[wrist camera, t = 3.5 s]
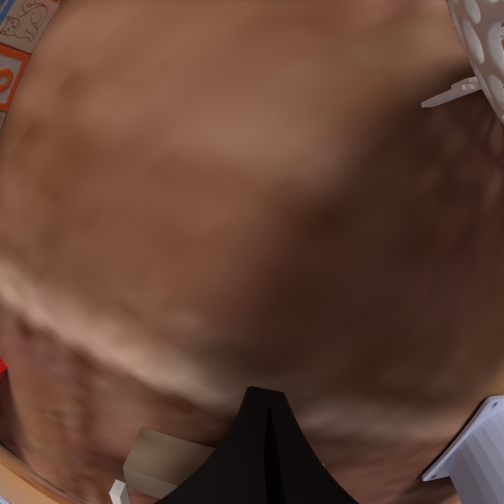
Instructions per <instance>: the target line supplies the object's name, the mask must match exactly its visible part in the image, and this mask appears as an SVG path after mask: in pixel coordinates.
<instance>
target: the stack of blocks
mask: <svg viewBox="0 0 504 504" xmlns="http://www.w3.org/2000/svg"><path fill="white" fill-rule="evenodd" d="M60 2H61V0H0V131H1V128H2V124H3V121H4V118H5V115H6V112H7V111H8V109H9V106H10V103H11V100H12V98H13V95H14V93H15V90H16V88H17V85H18V83H19V80H20V78H21V76H22V73H23V71H24V69H25V67H26V65H27V63H28V60H29V58H30V55H31V54H32V52H33V50H34V48H35V46H36V45H37V43H38V41H39V39H40V37H41V36H42V34H43V32H44V30H45V28H46V27H47V25H48V23H49V22H50V20H51V18H52V17H53V15H54V14H55V12H56V10H57V9H58V7H59V4H60Z"/></svg>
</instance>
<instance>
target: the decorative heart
mask: <svg viewBox="0 0 504 504" xmlns="http://www.w3.org/2000/svg"><path fill="white" fill-rule="evenodd" d="M446 2H447V5H448V9H449V13H450V16H451V18H452V22H453V24H454V27H455V30H456V32H457V35H458V38H459V41H460V43H461V45H462V47H463V49H464V51H465V53H466V56H467V58H468V60H469V62H470V64H471V67H472V69H473V71H474V74H475V76H476V77H472V78H466V79H464V80H461V81H459V82H457V83H455V84H453V85H451V88H452V89H450V90H448V91H446V92H443V93H441V94H439V95H437V96H435V97H432V98H430V99H428V100H426V101H424V102H421V105H422V107H435V106H437V105H440V104H442V103H445V102H448V101H450V100H453V99H456V98H458V97H461V96H464V95H466V94H469V93H472V92H475V91H478V90H480V89H482V91H483V93H484V94H485V96H486V98H487V100H488V101H489V103H490V105H491V107H492V108H493V110H494V112H495V113H496V115H497V116H498V118H499V119H500V121H501V122H502V123H503V125H504V88H503V86H504V50H503V48H502V45H501V41H502V39H504V27H501V24H502V23H504V0H446Z"/></svg>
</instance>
